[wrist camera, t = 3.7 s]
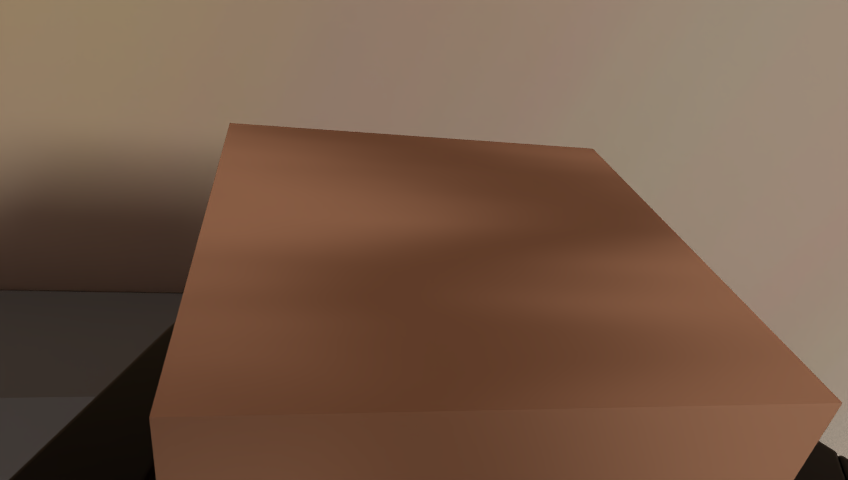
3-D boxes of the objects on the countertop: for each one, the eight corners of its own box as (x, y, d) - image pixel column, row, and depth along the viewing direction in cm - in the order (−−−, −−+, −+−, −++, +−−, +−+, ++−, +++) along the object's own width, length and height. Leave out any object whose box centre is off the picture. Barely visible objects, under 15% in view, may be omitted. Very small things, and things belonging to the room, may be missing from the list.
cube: (592, 148, 9) (842, 402, 5) (519, 403, 12) (642, 718, 7) (229, 122, 8) (148, 418, 4) (234, 409, 11) (188, 777, 6)
